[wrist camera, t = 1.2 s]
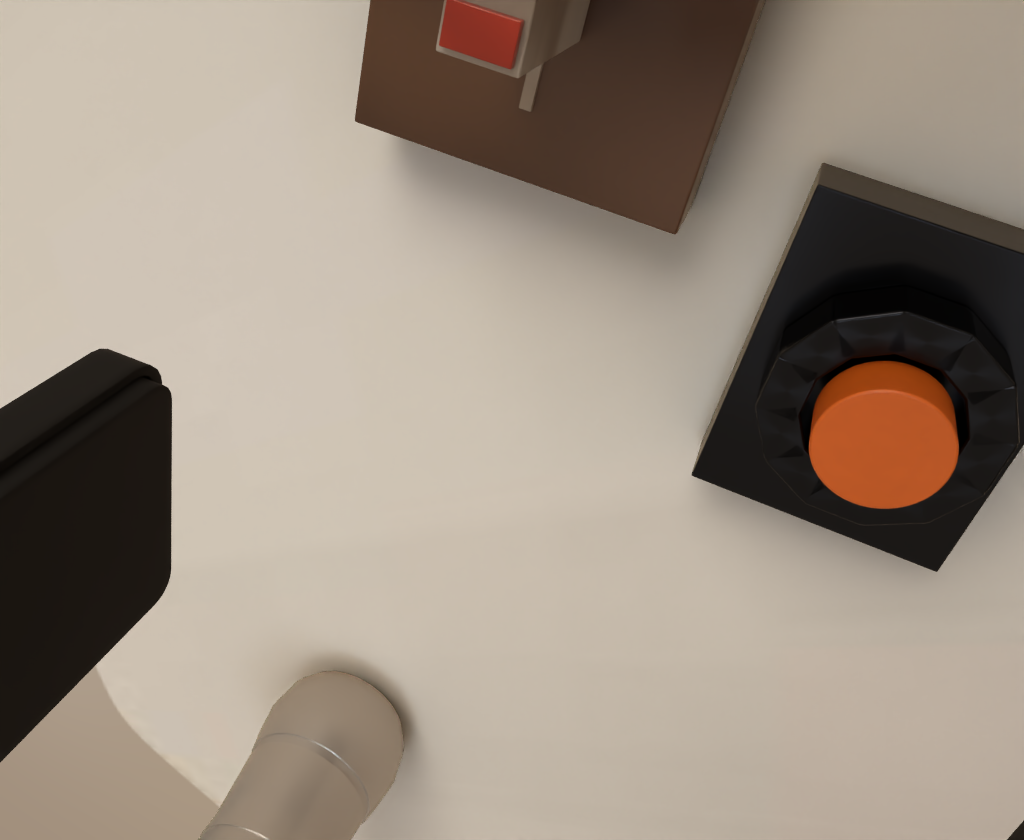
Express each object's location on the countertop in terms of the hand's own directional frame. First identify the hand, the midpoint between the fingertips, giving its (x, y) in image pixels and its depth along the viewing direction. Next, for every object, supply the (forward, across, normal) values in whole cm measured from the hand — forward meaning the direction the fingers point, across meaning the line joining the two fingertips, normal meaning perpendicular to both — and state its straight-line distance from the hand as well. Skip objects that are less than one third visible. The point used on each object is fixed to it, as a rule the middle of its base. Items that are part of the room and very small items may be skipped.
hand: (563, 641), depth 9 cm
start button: (+17, -5, +5) cm, 19 cm away
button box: (+21, -6, +5) cm, 22 cm away
